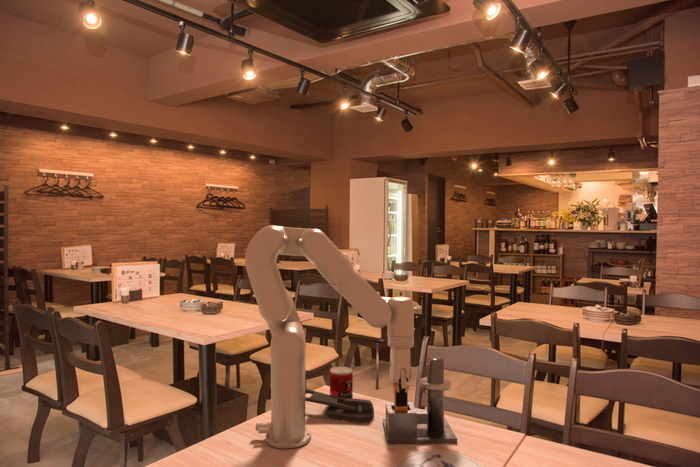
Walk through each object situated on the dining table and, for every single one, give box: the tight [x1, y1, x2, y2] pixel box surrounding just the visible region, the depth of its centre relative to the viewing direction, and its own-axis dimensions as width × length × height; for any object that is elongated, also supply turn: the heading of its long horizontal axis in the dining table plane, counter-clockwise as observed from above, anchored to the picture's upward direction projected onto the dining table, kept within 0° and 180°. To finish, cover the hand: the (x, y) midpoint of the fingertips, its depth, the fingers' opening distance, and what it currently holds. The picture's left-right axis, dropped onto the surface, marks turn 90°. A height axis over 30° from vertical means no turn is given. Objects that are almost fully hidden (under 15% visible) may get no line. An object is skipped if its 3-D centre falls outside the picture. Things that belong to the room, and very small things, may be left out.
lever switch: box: [382, 356, 458, 445], centre depth 133 cm, size 19×14×21 cm
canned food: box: [329, 366, 354, 404], centre depth 157 cm, size 8×8×11 cm
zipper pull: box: [305, 388, 375, 424], centre depth 146 cm, size 9×7×25 cm
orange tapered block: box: [391, 382, 410, 410], centre depth 133 cm, size 4×3×10 cm
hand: (400, 403), depth 133 cm, fingers closed on orange tapered block, 2 cm apart
